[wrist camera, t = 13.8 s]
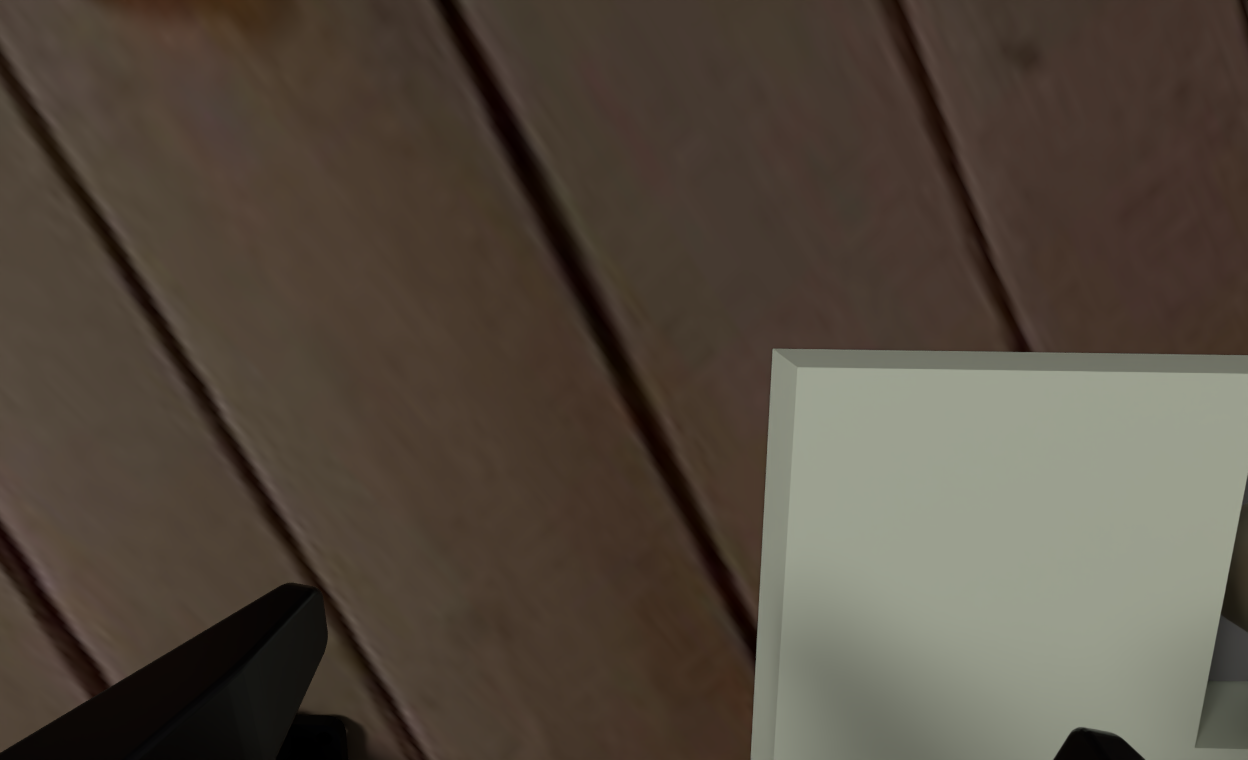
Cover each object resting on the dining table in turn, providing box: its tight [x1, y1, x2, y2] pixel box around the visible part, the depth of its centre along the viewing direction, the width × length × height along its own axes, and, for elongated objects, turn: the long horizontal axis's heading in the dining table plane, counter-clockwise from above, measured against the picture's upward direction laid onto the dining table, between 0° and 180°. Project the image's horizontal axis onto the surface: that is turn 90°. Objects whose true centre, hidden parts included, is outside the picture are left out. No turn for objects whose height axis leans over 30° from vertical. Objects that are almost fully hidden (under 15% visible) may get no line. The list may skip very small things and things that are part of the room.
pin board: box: [751, 349, 1248, 760], centre depth 19 cm, size 16×21×3 cm
